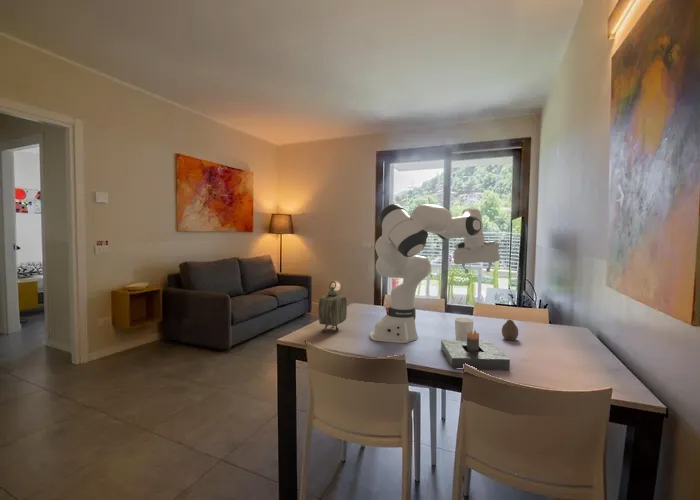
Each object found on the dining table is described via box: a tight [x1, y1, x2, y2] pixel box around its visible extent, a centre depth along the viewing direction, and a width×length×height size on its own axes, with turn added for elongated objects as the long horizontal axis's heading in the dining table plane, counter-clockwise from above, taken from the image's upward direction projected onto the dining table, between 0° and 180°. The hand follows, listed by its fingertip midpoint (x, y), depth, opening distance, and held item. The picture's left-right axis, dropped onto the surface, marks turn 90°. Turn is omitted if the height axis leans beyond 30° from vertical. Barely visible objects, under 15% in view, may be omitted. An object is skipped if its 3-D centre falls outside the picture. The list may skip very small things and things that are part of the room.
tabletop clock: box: [317, 280, 348, 333], centre depth 162 cm, size 14×9×25 cm, turn 155°
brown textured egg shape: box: [501, 319, 519, 342], centre depth 148 cm, size 7×7×9 cm
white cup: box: [454, 317, 474, 340], centre depth 145 cm, size 8×8×10 cm
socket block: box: [440, 339, 511, 372], centre depth 125 cm, size 20×20×4 cm
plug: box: [467, 329, 480, 352], centre depth 125 cm, size 4×4×11 cm
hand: (477, 272), depth 151 cm, fingers open, 8 cm apart
